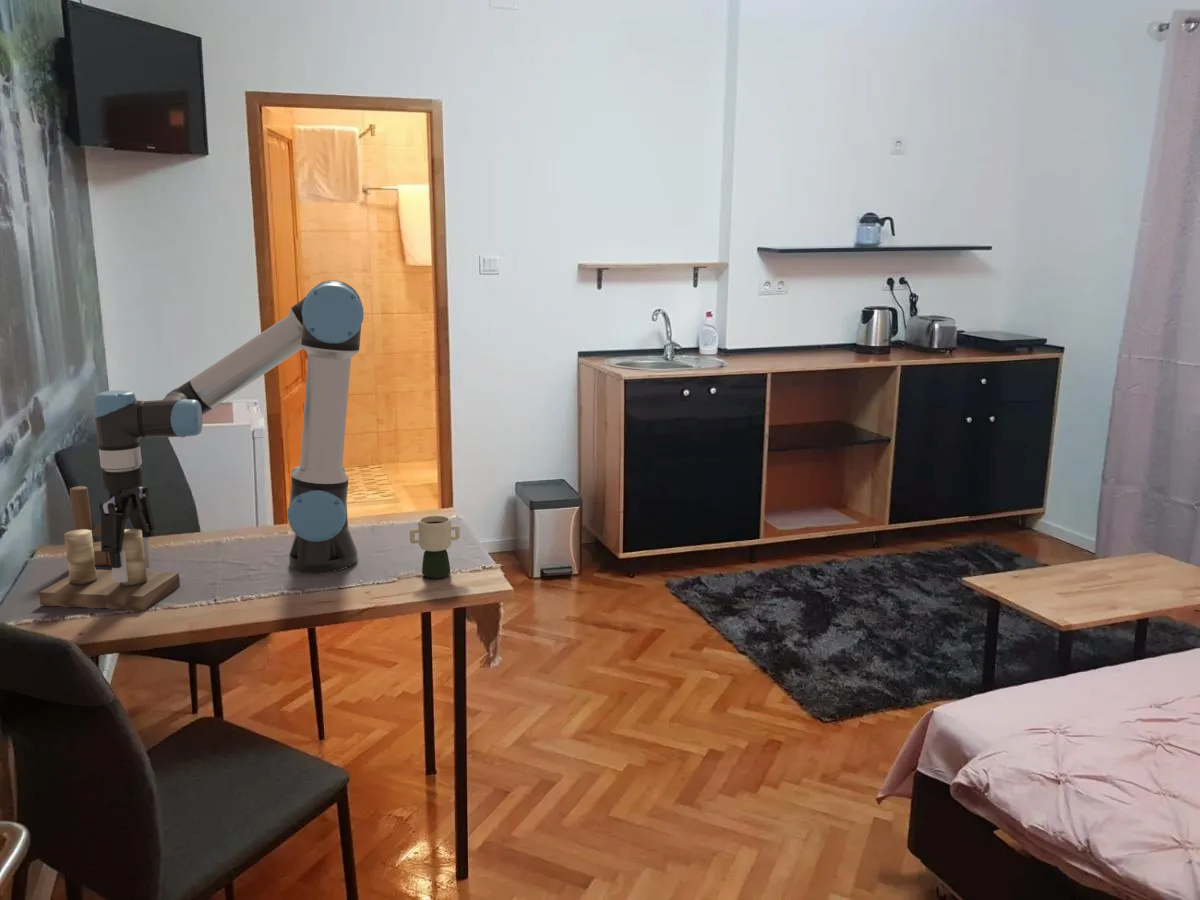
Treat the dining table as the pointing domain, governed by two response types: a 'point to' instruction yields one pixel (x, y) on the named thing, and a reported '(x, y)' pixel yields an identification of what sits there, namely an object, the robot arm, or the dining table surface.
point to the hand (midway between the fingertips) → (132, 574)
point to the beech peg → (134, 558)
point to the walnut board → (101, 582)
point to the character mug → (435, 544)
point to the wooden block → (87, 521)
